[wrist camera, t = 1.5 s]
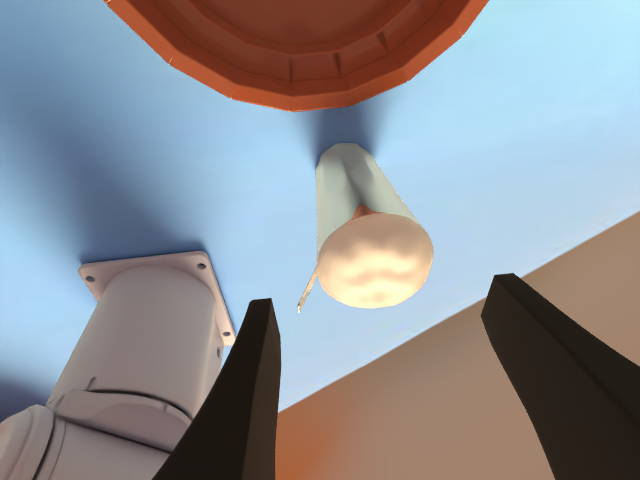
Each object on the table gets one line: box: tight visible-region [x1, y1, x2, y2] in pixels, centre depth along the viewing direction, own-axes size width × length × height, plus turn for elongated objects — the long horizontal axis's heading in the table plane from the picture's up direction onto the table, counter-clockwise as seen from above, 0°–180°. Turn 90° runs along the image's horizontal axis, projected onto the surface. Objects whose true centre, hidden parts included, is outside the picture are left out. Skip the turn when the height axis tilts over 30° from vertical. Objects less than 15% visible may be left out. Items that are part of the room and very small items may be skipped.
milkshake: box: [298, 143, 433, 313], centre depth 16 cm, size 4×5×10 cm
